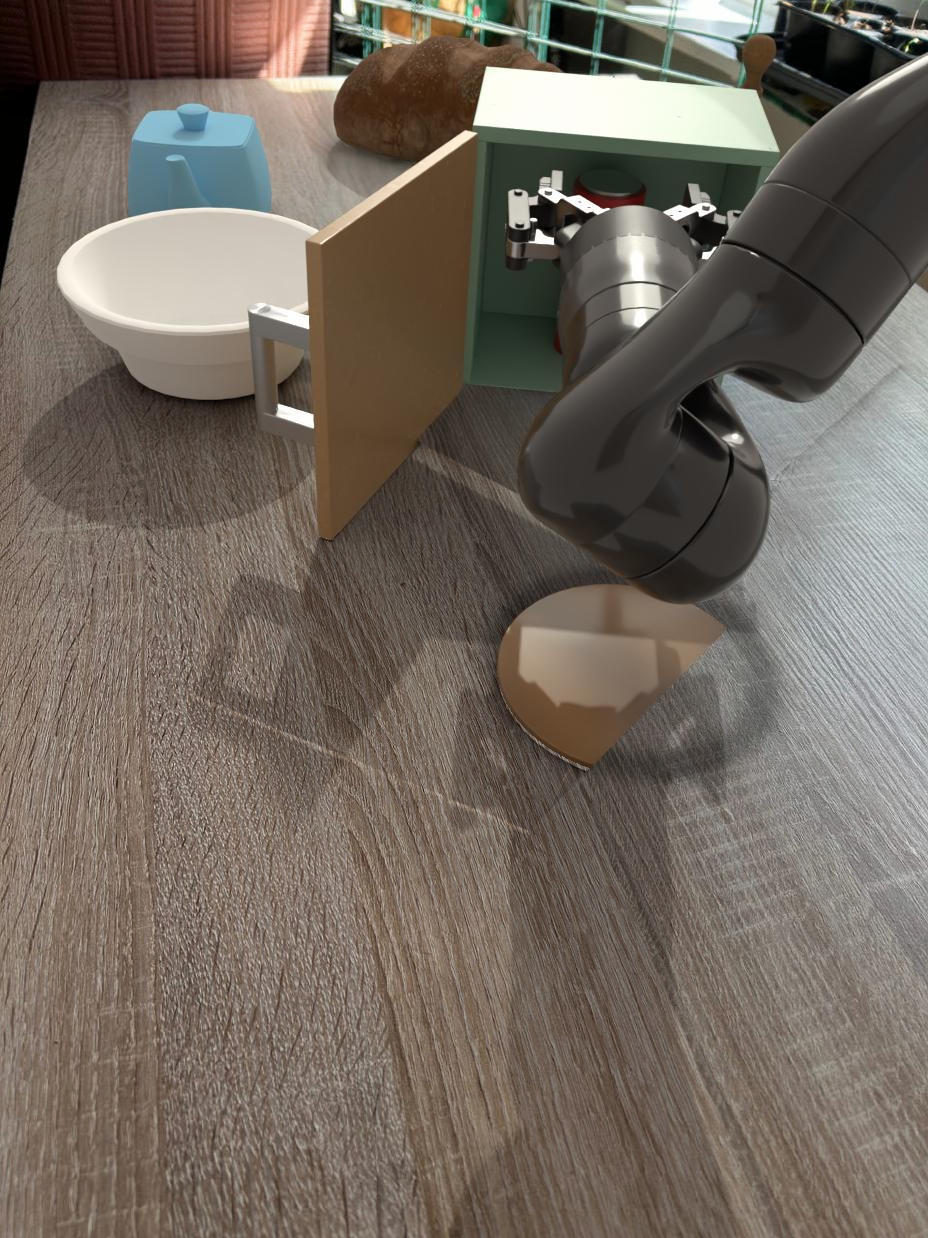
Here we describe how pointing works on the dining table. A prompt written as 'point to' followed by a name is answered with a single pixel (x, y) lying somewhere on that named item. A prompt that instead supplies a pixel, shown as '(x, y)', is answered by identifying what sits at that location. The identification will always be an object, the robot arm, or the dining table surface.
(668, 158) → the green cabinet
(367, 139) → the bread
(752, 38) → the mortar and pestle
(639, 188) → the can
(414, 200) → the wooden cabinet door
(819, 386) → the robot arm
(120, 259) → the bowl
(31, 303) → the dining table surface
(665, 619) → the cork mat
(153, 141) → the teapot
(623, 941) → the dining table surface
